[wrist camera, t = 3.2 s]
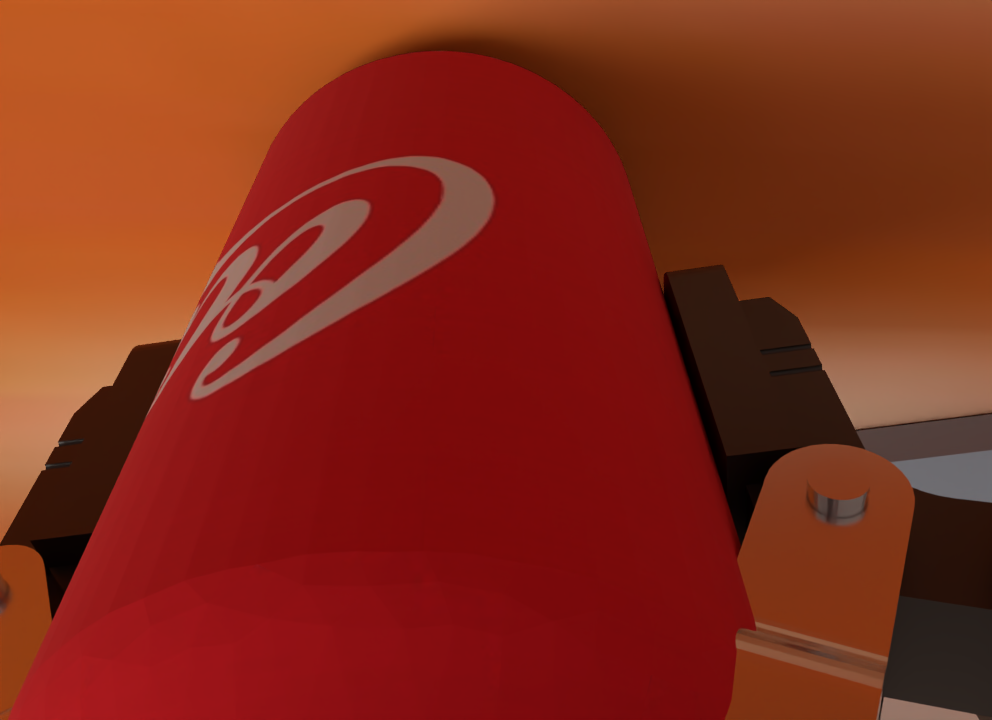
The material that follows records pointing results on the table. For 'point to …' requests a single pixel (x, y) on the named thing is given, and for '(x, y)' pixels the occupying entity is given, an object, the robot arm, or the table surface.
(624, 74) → the table surface
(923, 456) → the butter dish
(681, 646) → the beverage can
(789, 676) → the robot arm
